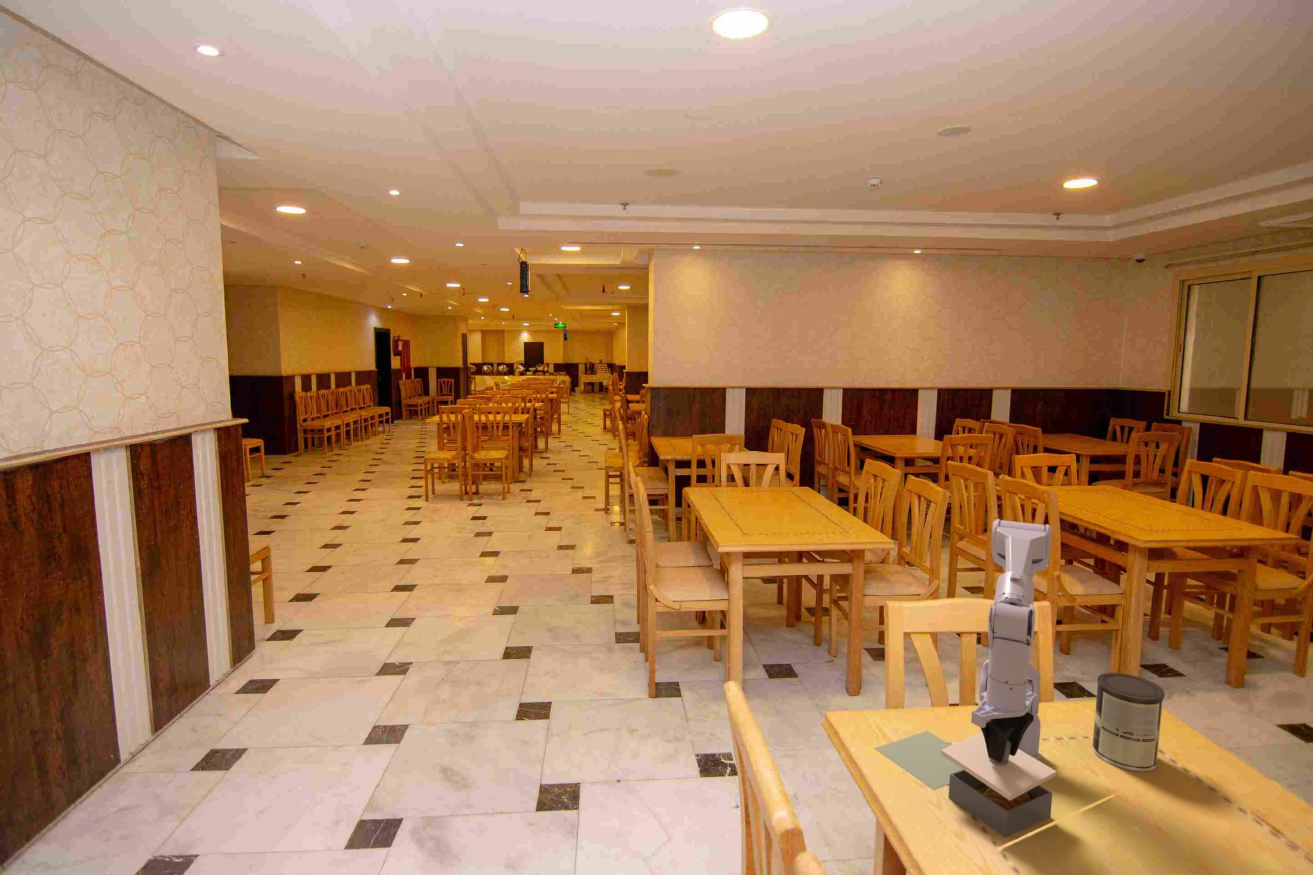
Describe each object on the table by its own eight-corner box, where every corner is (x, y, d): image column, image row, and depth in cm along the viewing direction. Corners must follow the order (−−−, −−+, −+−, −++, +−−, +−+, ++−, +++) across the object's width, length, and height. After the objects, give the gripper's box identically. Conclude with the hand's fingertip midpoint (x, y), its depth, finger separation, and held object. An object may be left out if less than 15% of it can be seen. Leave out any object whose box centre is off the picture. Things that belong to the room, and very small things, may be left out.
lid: (985, 733, 122) (989, 711, 121) (1055, 775, 112) (1059, 751, 111) (940, 754, 116) (943, 730, 115) (1010, 800, 106) (1014, 775, 105)
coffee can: (1079, 741, 135) (1085, 672, 133) (1131, 740, 135) (1137, 671, 133) (1115, 772, 125) (1122, 698, 123) (1171, 772, 125) (1179, 698, 123)
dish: (991, 782, 121) (993, 757, 121) (1050, 819, 112) (1052, 792, 111) (948, 799, 117) (949, 774, 116) (1005, 839, 107) (1007, 812, 106)
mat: (927, 732, 137) (927, 730, 137) (988, 770, 125) (989, 768, 125) (874, 750, 131) (874, 748, 131) (933, 791, 119) (933, 789, 119)
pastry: (1011, 836, 108) (1012, 813, 108) (968, 814, 113) (969, 792, 113) (1036, 811, 114) (1037, 789, 114) (994, 791, 119) (996, 771, 119)
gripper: (1011, 657, 119) (1006, 732, 120) (956, 676, 111) (951, 755, 113) (1052, 674, 113) (1046, 752, 114) (997, 695, 105) (991, 778, 107)
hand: (1001, 755), depth 113 cm, fingers closed on lid, 3 cm apart
